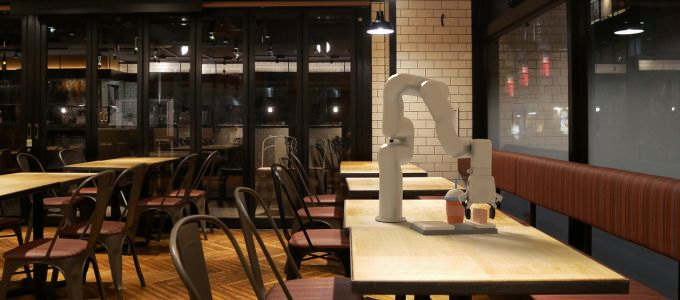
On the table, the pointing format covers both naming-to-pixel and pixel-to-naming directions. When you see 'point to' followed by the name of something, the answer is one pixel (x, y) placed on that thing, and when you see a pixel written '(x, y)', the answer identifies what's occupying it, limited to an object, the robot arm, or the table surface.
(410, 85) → the robot arm
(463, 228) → the grey flat block
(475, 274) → the table surface
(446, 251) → the table surface
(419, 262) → the table surface
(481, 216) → the salmon brown block
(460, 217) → the cup with straw
